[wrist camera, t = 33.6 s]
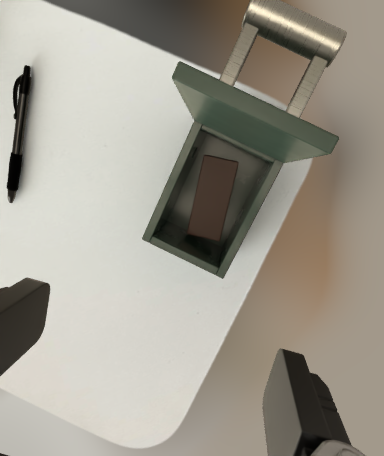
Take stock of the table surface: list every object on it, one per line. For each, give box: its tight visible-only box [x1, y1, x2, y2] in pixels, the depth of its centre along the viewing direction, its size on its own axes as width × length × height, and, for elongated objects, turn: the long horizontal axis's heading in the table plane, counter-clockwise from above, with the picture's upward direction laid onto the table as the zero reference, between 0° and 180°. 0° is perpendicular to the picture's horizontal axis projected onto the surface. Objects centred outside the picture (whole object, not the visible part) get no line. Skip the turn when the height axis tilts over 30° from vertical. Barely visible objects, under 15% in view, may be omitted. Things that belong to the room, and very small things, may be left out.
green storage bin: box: [142, 121, 283, 279], centre depth 32 cm, size 11×8×8 cm
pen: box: [7, 65, 31, 203], centre depth 36 cm, size 14×2×1 cm, turn 166°
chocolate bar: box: [187, 155, 239, 241], centre depth 33 cm, size 3×8×3 cm, turn 168°
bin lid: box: [172, 0, 347, 163], centre depth 20 cm, size 12×8×5 cm
